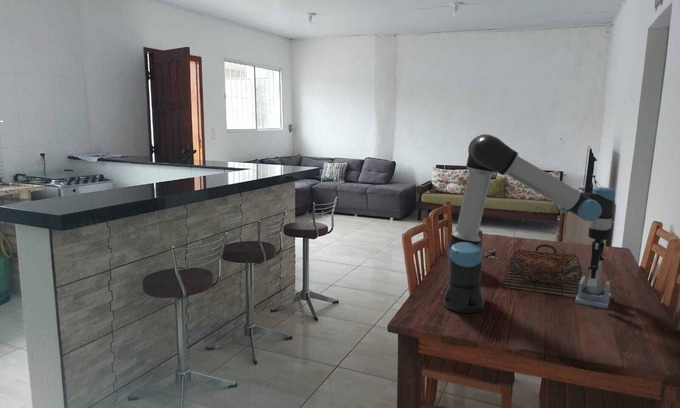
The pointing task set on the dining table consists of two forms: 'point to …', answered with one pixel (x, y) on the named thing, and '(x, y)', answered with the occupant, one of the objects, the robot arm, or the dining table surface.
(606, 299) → the blue bracket with posts
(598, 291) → the salt shaker
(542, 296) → the dining table surface
